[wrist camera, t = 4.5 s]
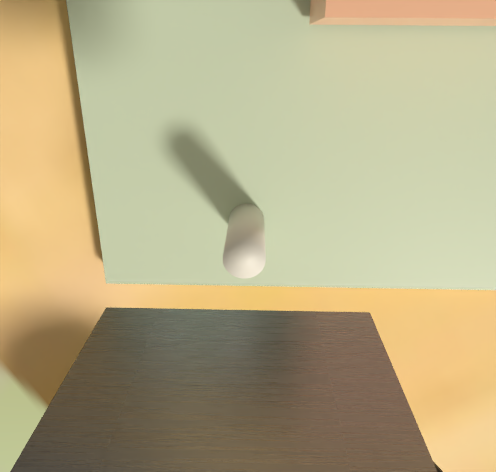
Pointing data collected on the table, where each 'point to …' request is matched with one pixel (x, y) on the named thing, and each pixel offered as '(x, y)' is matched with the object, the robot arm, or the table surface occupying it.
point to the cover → (403, 12)
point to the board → (287, 146)
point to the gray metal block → (229, 397)
